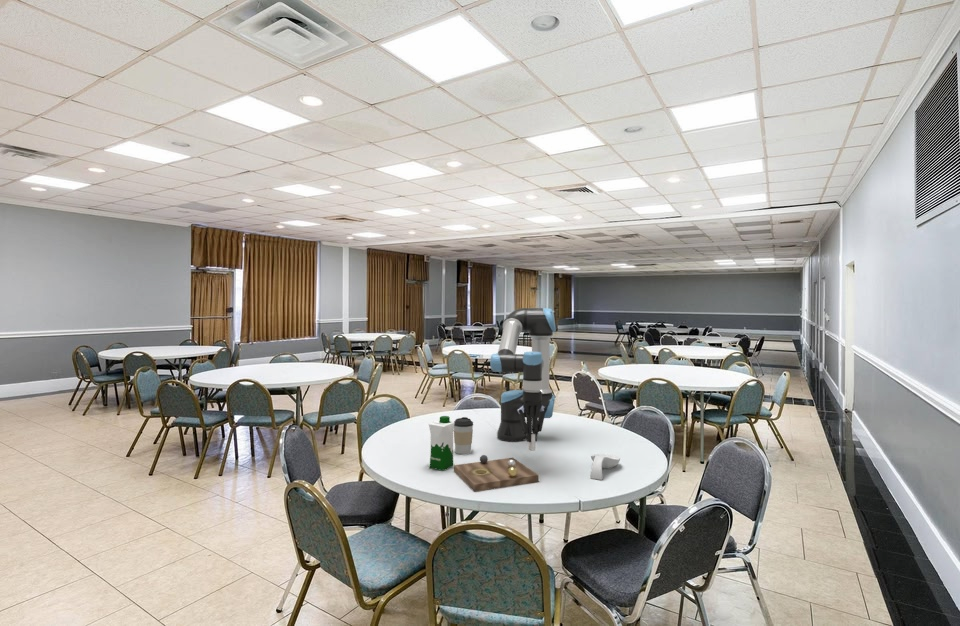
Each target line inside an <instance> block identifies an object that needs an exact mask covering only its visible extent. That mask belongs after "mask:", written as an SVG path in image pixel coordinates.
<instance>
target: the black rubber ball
mask: <svg viewBox="0 0 960 626" xmlns="http://www.w3.org/2000/svg"><path fill="white" fill-rule="evenodd" d="M487 461H489V458H488V455H485V454H481V456H479V462H481V463H486V462H487Z"/></svg>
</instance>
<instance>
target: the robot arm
mask: <svg viewBox="0 0 960 626" xmlns="http://www.w3.org/2000/svg"><path fill="white" fill-rule="evenodd" d="M556 329H557V328H556V320H555V314H554V310H553V309H552V308H549V307H548V308H547V307H534V308H533V307H532V308H531V307H528V308H527V307H521V308H518V309H515V310H513V311H512V312H510V313H509V314H508V315H507V316H506V317H505V318H504V320H503V323H502V336H501V339H500V343H499V346H498V351H497V353H492V354H491V356H490V360H489V361H490V369H491V371H492V372H499V373H503V372H505V373H523V374H522V389H513V390H508V391H504V392H502V393H501V395H500V423H499V427H498V429H497V432H496V433H497V434H496V438H497V439H498V440H501V441H504V442H524V441H526V442H528V450H529V451H532V452H535V451H536V442H537V441H538V435H539V433H540V432H542V429H543V425H544V421H545V419H551V418H552V417H553V415H554V414H553V413H554V407H555V398H556V394H553V390H552V389H551V388H550V340H551V338H553V336H554V334H553V333H556ZM522 332H524V333H525V332H527V333H528V336H529V337H530V338H531V351H525V352H524V353H522V354H520V353H519V354H517V353H516V351H517V346H518V342H519V336H520V334H521V333H522Z"/></svg>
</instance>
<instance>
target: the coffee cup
mask: <svg viewBox="0 0 960 626" xmlns="http://www.w3.org/2000/svg"><path fill="white" fill-rule="evenodd" d="M453 422H454V423H455V424H454V431H453V443H454V448H455V449H454V450H455V454H458V455H469V454H471V451H472V443H473V431H474V430H473V427H474V421H472V420H471V418H468V417H466V416H464V417H460V418H459V417H458V418H456V419H455V420H454V421H453Z"/></svg>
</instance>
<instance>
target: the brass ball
mask: <svg viewBox="0 0 960 626" xmlns="http://www.w3.org/2000/svg"><path fill="white" fill-rule="evenodd" d="M508 475H509V476H510V477H515V476H516V475H517V469H516V468H515V467H510V468H509V469H508Z"/></svg>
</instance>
